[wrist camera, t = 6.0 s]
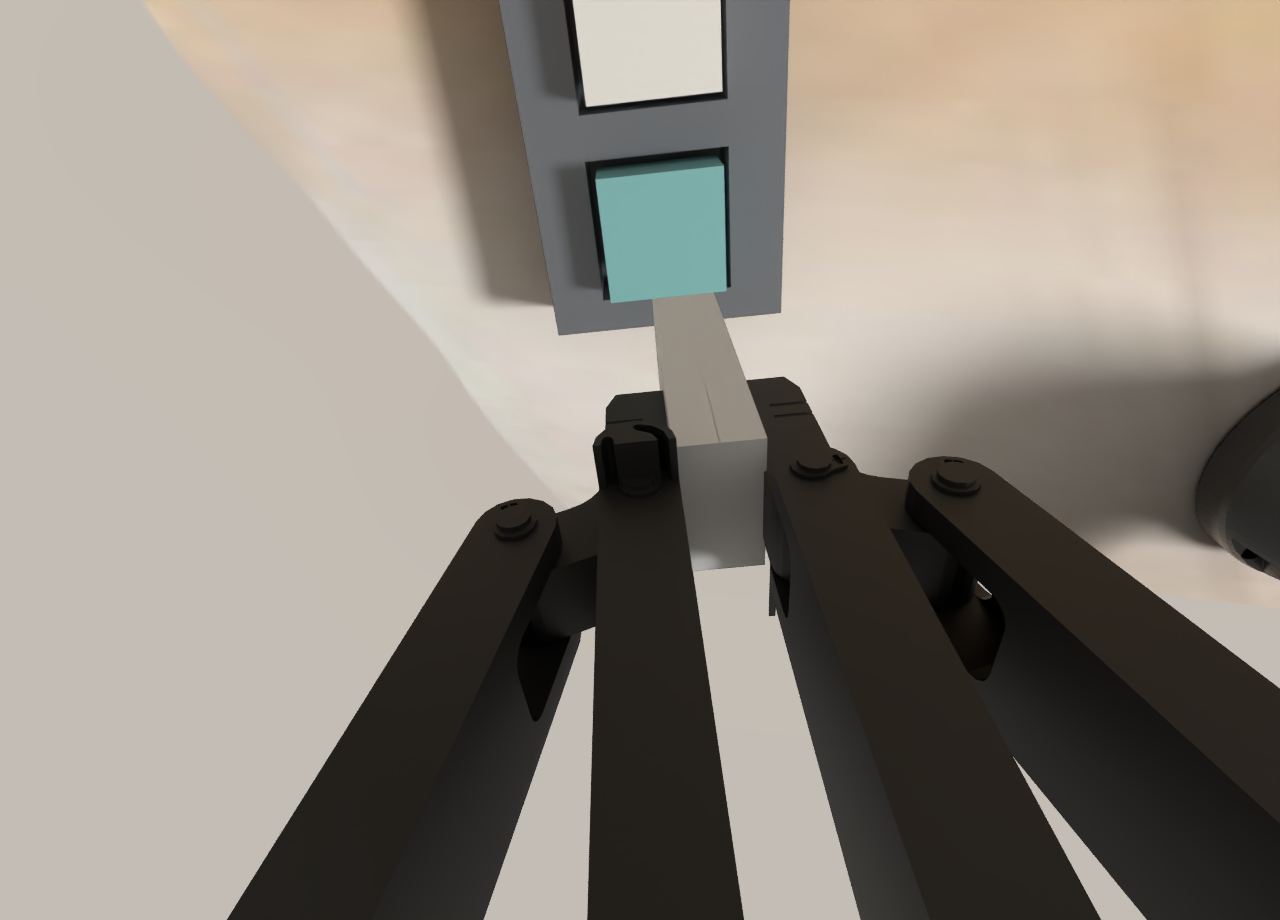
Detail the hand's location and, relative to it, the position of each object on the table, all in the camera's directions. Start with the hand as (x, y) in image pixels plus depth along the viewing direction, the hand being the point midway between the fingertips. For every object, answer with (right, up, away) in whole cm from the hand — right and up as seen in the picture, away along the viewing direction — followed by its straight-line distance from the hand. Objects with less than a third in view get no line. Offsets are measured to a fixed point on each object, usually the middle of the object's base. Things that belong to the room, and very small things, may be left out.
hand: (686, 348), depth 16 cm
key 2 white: (-1, +13, +7) cm, 15 cm away
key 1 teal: (0, +7, +11) cm, 13 cm away
